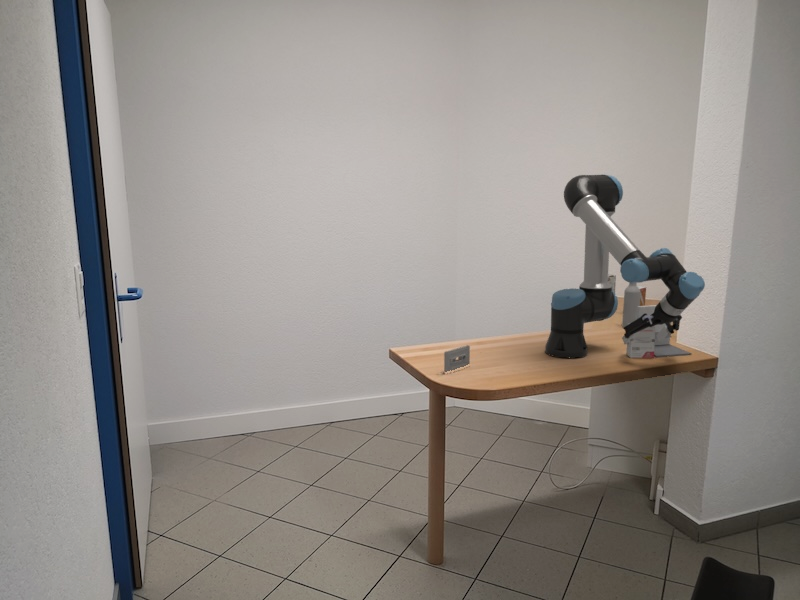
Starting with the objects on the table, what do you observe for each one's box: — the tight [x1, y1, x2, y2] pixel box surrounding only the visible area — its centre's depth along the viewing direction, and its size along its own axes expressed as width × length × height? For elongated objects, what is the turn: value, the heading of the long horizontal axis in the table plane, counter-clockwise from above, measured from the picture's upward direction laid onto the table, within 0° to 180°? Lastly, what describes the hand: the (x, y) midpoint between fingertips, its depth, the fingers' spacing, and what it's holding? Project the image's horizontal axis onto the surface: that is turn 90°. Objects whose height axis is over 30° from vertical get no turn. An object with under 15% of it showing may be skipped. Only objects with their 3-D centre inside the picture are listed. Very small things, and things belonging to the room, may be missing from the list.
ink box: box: [626, 323, 656, 359], centre depth 213 cm, size 9×5×12 cm, turn 85°
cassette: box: [443, 344, 471, 372], centre depth 201 cm, size 12×2×8 cm, turn 133°
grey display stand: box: [636, 304, 692, 358], centre depth 220 cm, size 14×18×16 cm
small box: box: [637, 285, 647, 306], centre depth 279 cm, size 8×6×13 cm
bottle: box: [621, 282, 640, 328], centre depth 254 cm, size 7×7×28 cm
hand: (641, 339), depth 213 cm, fingers open, 13 cm apart
